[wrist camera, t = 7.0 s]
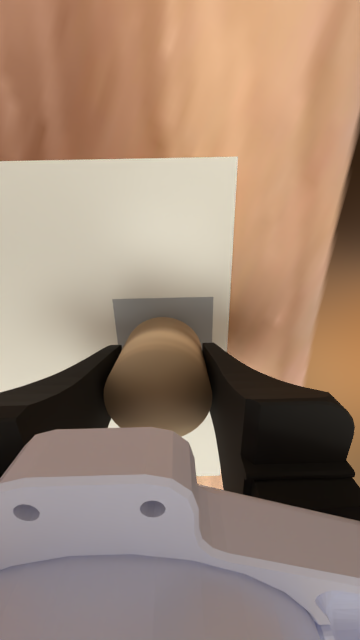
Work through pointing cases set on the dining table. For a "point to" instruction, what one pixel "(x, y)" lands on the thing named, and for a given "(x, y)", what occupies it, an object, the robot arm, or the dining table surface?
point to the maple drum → (159, 379)
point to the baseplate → (112, 261)
